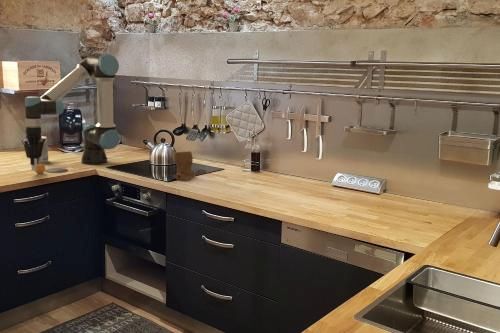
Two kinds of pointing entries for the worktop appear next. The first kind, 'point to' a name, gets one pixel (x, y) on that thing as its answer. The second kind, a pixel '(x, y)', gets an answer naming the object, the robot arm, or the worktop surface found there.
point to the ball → (40, 168)
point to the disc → (56, 170)
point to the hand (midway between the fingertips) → (34, 170)
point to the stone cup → (184, 165)
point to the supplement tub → (44, 152)
